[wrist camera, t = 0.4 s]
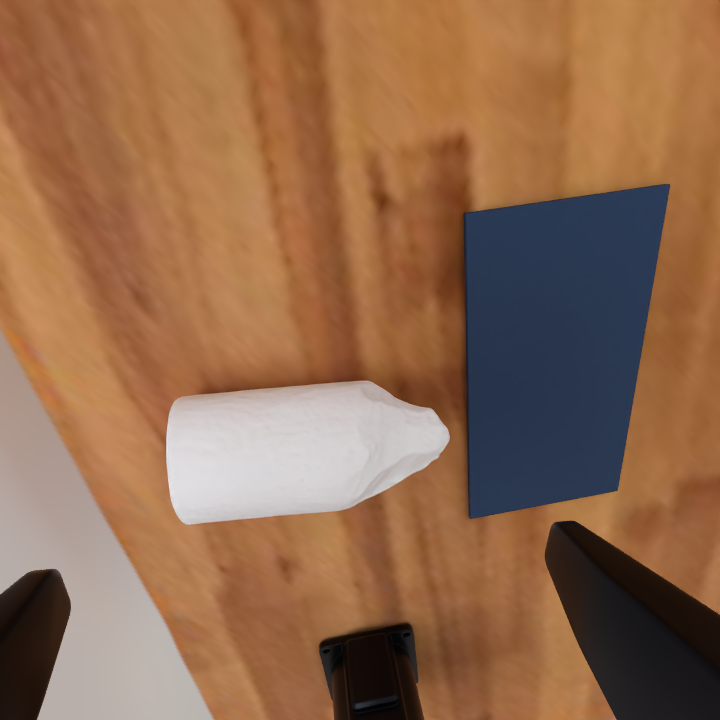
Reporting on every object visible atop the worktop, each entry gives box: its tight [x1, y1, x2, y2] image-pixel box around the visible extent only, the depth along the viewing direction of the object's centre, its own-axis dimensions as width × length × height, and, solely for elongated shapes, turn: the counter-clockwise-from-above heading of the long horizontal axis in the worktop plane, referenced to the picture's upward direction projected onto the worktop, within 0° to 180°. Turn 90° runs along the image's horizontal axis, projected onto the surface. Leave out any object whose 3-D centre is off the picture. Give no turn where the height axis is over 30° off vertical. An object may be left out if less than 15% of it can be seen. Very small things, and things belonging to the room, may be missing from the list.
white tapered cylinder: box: [166, 381, 450, 525], centre depth 21 cm, size 6×12×6 cm, turn 91°
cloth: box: [464, 184, 670, 519], centre depth 24 cm, size 18×10×1 cm, turn 7°
